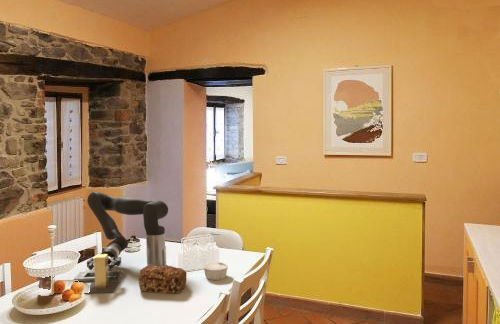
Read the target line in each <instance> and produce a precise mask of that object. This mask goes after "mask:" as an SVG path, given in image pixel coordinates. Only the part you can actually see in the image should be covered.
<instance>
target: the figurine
mask: <svg viewBox="0 0 500 324" xmlns="http://www.w3.org/2000/svg"><path fill="white" fill-rule="evenodd" d="M53 278H54V279H55V275H54V277H53ZM54 282H55V280H54ZM55 283H56V282H55ZM38 287H39V288H43V289H48V290H50V289H51V276H49V277H45V278H40V277H39V281H38ZM38 287H37V288H38Z"/></svg>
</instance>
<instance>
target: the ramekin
mask: <svg viewBox="0 0 500 324" xmlns="http://www.w3.org/2000/svg"><path fill="white" fill-rule="evenodd" d="M228 268H229V267H228V264H227V263H224V262H218V261H217V262H209V263H206V264H204V265H203V270H204V275H205V278H206V279H208V280H210V281H219V280H223V279H225V278H226V276H227V271H228Z"/></svg>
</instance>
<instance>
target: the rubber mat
mask: <svg viewBox="0 0 500 324" xmlns="http://www.w3.org/2000/svg"><path fill="white" fill-rule="evenodd" d="M119 284H120V280H118V281H109V285H108V286H107V288H106V289H95V281H91V283H90V284H89V286H90V292H89V294H90V295H92V294H95V295H96V294H113V293H114V292H115V290H116V289H117V287H118V285H119ZM89 294H88V295H89Z"/></svg>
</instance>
